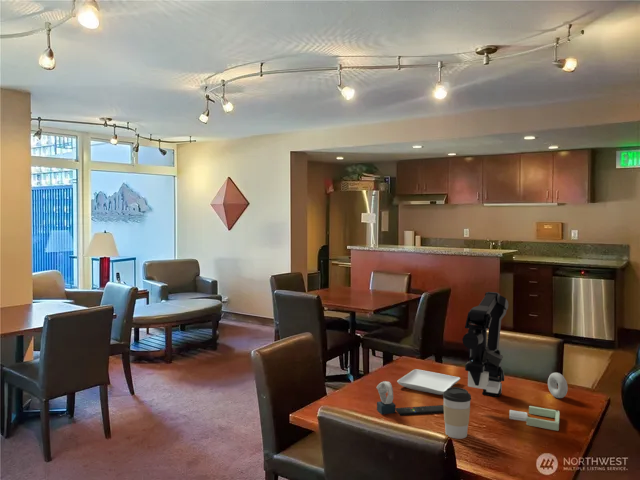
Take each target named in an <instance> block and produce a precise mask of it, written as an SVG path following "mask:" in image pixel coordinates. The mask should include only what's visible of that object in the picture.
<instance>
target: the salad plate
mask: <svg viewBox="0 0 640 480" xmlns="http://www.w3.org/2000/svg"><path fill="white" fill-rule="evenodd" d="M460 380H461V377H459V376H455V375H454V376H453V375H451V374H450V375H449V374H444V373H439V372H434V371H429V370H424V369H423V370H422V369H417V368H415V369H413V370H411V371H410V372H408V373H407V374H405V375H404V376H402V377H400V378H399V379H398V380H397V381H396V382H397V383H398V385H400V386H401V387H404V388H407V389H411V390H413V391H418V392H424V393H429V394H433V395H440V396H443V392H444V391H446V390H447V389H448V388H453V387H454V385H456V384H457V383H458V382H459V381H460Z"/></svg>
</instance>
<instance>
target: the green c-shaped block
mask: <svg viewBox="0 0 640 480" xmlns="http://www.w3.org/2000/svg"><path fill="white" fill-rule="evenodd" d="M528 414H530V415H535V416H540V417H547V418H553V419H554V420H546V419H543V418H536V417H530V416H528V417H527V421H525V422H526V426H530V427H536V428H542V429H546V430H551V431H557V432H558V431H559V429H560V410H558V409H557V410H556V409H552V408H546V407H545V408H543V407H540V406H533V405H529V406H528Z"/></svg>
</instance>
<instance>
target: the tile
mask: <svg viewBox="0 0 640 480" xmlns="http://www.w3.org/2000/svg"><path fill="white" fill-rule="evenodd" d="M527 417H529V416H528V412H525V411H520V410H519V411H518V410H513V409H509V420H514V421H521V422H527Z"/></svg>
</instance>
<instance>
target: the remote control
mask: <svg viewBox="0 0 640 480" xmlns="http://www.w3.org/2000/svg"><path fill="white" fill-rule="evenodd" d="M395 412H396V413H397V414H398V415H399V416H402V417H403V416H416V415H417V416H418V415H419V416H420V415H432V414H444V406H443V404H442V405H441V404H437V405H425V406H424V405H421V406H409V407H408V406H407V407H405V406H404V407H396V410H395Z"/></svg>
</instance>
